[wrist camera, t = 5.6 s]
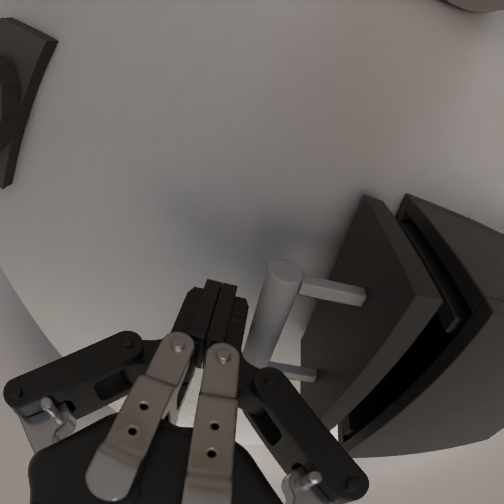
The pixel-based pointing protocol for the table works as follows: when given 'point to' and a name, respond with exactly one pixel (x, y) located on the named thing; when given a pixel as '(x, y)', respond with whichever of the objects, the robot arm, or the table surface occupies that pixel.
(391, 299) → the small dark drawer
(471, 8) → the can
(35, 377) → the robot arm
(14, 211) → the table surface
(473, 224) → the black drawer cabinet
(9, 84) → the control block
